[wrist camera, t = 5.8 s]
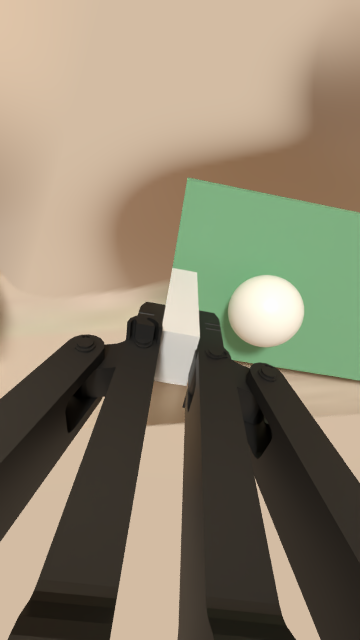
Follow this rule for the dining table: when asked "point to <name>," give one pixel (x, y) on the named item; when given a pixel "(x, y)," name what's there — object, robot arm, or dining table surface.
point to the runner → (277, 270)
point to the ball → (266, 311)
